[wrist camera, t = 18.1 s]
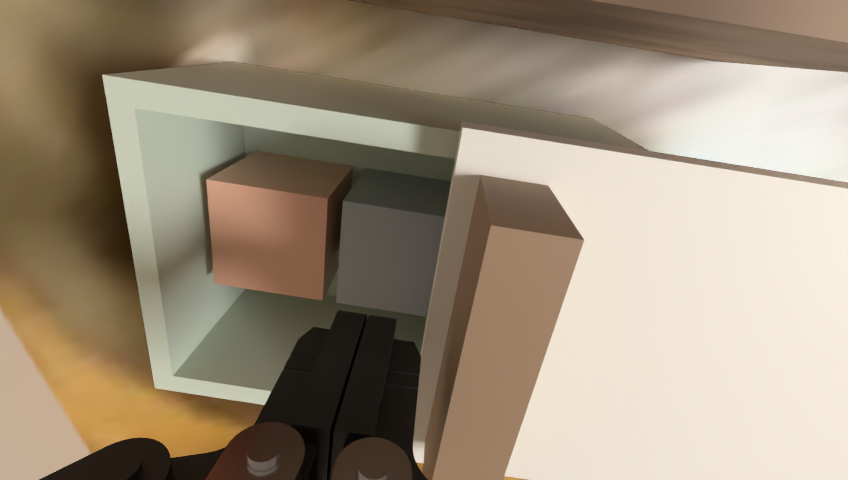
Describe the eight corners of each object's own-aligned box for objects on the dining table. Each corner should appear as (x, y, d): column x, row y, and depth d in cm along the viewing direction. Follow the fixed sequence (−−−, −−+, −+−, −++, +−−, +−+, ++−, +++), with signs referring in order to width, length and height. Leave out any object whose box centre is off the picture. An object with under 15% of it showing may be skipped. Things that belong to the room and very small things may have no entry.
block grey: (461, 182, 18) (463, 219, 14) (445, 266, 19) (443, 319, 16) (365, 168, 18) (342, 200, 14) (357, 253, 19) (336, 302, 16)
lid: (1082, 219, 10) (1396, 309, 7) (832, 505, 15) (944, 643, 12) (461, 121, 10) (467, 162, 7) (405, 439, 15) (390, 559, 12)
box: (592, 118, 17) (675, 165, 11) (527, 329, 21) (559, 450, 15) (233, 61, 17) (102, 75, 11) (243, 284, 21) (155, 388, 15)
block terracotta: (353, 166, 18) (327, 198, 14) (346, 251, 19) (322, 300, 16) (256, 150, 18) (206, 179, 14) (259, 238, 19) (214, 283, 16)
